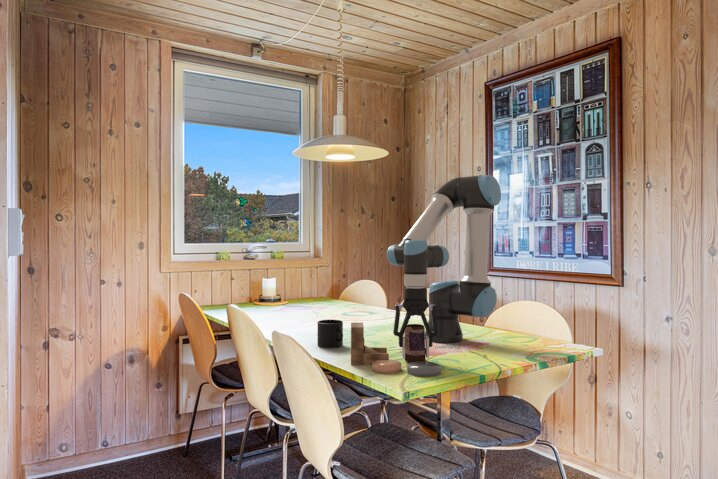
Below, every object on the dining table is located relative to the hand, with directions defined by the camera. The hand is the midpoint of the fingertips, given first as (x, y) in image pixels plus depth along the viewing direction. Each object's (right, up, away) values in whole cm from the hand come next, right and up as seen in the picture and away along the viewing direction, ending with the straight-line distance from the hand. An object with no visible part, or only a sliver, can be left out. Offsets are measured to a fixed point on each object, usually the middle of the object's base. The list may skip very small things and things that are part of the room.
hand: (415, 356), depth 164 cm
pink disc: (-10, -2, -10) cm, 14 cm away
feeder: (-15, -1, 0) cm, 15 cm away
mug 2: (-1, -2, 0) cm, 2 cm away
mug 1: (-29, -2, +23) cm, 36 cm away
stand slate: (+1, -2, -13) cm, 13 cm away
